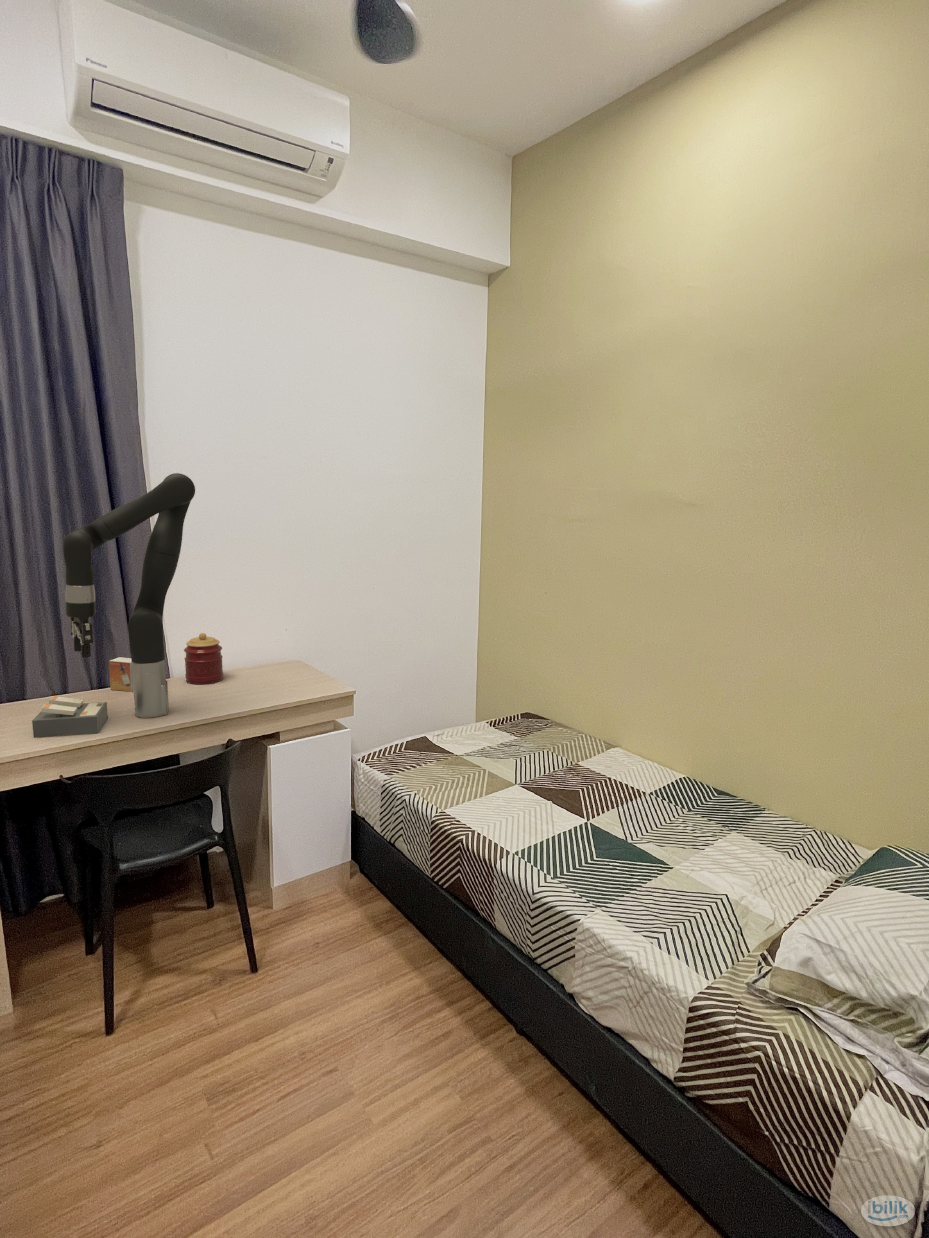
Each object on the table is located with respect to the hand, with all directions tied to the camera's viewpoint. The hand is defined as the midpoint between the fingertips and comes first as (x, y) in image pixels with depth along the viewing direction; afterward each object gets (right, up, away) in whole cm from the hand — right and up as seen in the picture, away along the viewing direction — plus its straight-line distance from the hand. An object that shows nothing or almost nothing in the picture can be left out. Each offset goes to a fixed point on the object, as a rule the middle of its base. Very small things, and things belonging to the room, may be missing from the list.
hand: (82, 654), depth 191 cm
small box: (-5, -14, +34) cm, 37 cm away
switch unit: (-2, -21, -2) cm, 21 cm away
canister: (+17, -12, +47) cm, 52 cm away
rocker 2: (-2, -16, -7) cm, 17 cm away
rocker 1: (-4, -14, -1) cm, 15 cm away
